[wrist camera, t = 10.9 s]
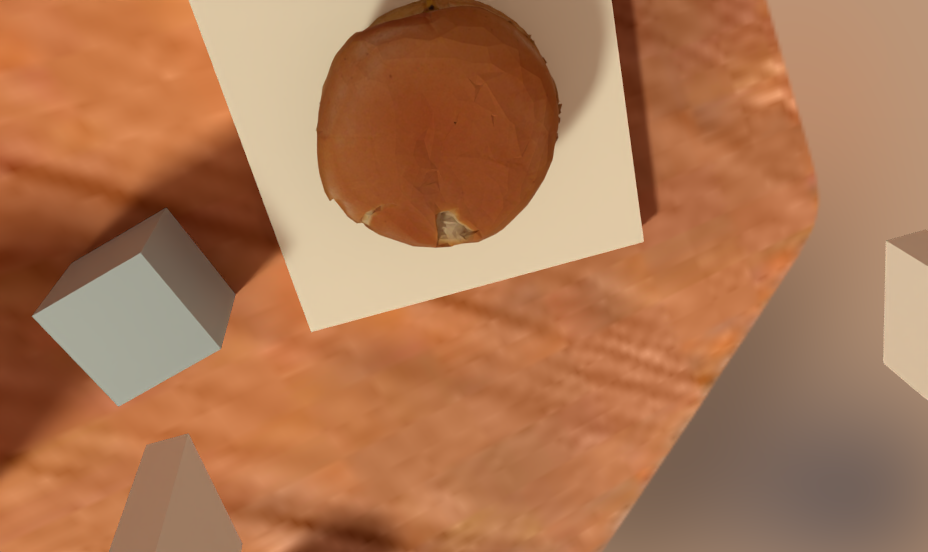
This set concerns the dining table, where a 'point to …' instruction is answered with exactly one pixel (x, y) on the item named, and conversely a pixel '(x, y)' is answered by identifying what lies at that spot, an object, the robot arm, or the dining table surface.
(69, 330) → the slate block
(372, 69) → the burger
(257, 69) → the board
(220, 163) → the dining table surface
